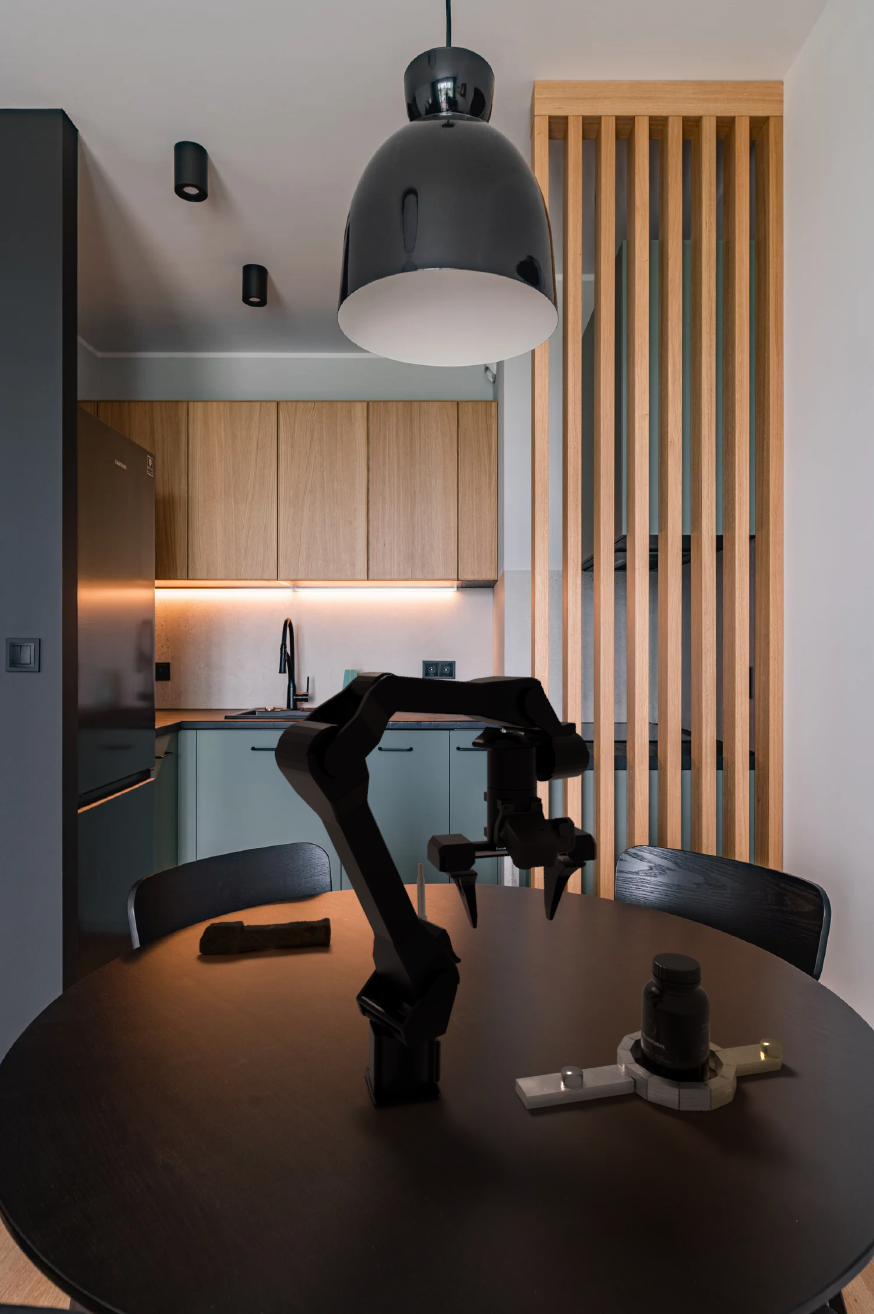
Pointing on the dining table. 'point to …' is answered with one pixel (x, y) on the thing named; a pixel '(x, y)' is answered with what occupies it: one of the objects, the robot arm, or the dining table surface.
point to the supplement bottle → (675, 1020)
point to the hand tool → (262, 936)
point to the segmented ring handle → (612, 1083)
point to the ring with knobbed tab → (740, 1067)
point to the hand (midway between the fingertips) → (512, 923)
